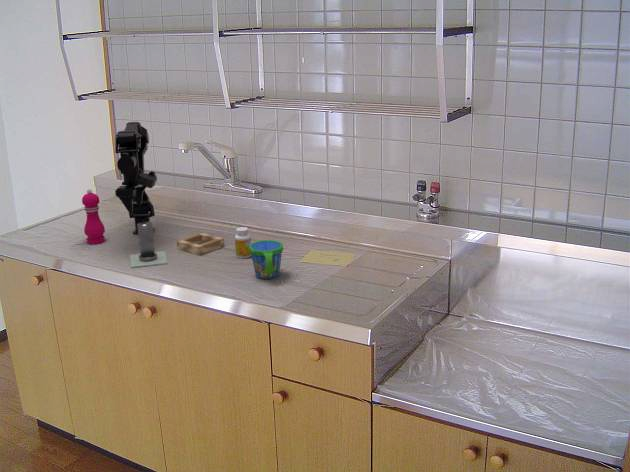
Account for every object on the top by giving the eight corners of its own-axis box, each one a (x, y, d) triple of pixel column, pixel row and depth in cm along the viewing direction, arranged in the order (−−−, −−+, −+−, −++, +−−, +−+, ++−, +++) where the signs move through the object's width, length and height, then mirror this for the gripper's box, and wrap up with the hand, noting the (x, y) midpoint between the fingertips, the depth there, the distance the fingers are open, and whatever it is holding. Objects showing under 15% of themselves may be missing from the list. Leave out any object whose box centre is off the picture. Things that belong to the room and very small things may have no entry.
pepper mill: (109, 238, 261) (102, 186, 254) (101, 245, 254) (94, 191, 248) (90, 238, 261) (83, 186, 255) (82, 244, 255) (75, 191, 248)
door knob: (150, 254, 241) (146, 219, 237) (160, 258, 237) (157, 223, 234) (135, 259, 237) (131, 224, 233) (146, 263, 233) (142, 227, 229)
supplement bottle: (232, 256, 239) (230, 229, 236) (244, 252, 243) (242, 225, 240) (243, 259, 235) (241, 232, 232) (255, 255, 239) (253, 228, 236)
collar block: (177, 249, 247) (176, 241, 246) (202, 240, 256) (201, 232, 255) (199, 255, 240) (199, 247, 239) (224, 246, 249) (224, 238, 248)
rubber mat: (129, 256, 241) (129, 255, 241) (165, 252, 244) (164, 251, 244) (130, 268, 230) (130, 266, 230) (167, 263, 233) (167, 262, 233)
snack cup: (285, 284, 214) (283, 252, 211) (250, 285, 213) (248, 254, 210) (283, 266, 229) (282, 236, 225) (251, 267, 228) (249, 238, 225)
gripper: (144, 172, 236) (148, 217, 240) (160, 160, 253) (164, 202, 258) (112, 172, 237) (117, 217, 241) (131, 161, 254) (135, 202, 259)
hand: (135, 209), depth 250 cm, fingers open, 9 cm apart
